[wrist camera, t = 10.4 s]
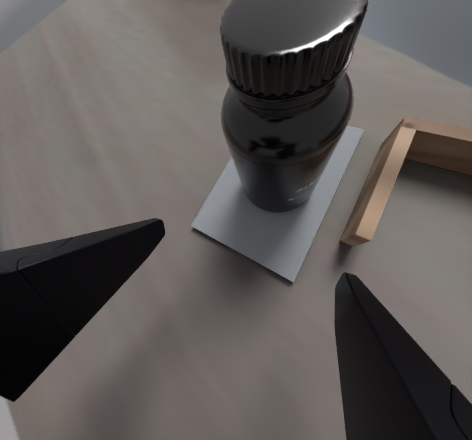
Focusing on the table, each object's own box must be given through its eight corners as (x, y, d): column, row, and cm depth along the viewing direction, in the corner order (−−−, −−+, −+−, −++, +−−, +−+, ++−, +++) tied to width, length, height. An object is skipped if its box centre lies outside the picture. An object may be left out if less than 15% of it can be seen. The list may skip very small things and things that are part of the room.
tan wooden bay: (513, 315, 11) (592, 331, 8) (339, 240, 15) (355, 234, 12) (546, 183, 13) (623, 158, 10) (382, 142, 16) (405, 116, 13)
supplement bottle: (310, 220, 15) (414, 80, 4) (237, 209, 17) (164, 90, 6) (319, 153, 17) (412, -84, 5) (251, 149, 19) (215, -36, 7)
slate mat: (293, 282, 15) (293, 282, 14) (193, 227, 18) (191, 226, 18) (361, 133, 17) (364, 129, 16) (261, 109, 20) (261, 105, 20)
